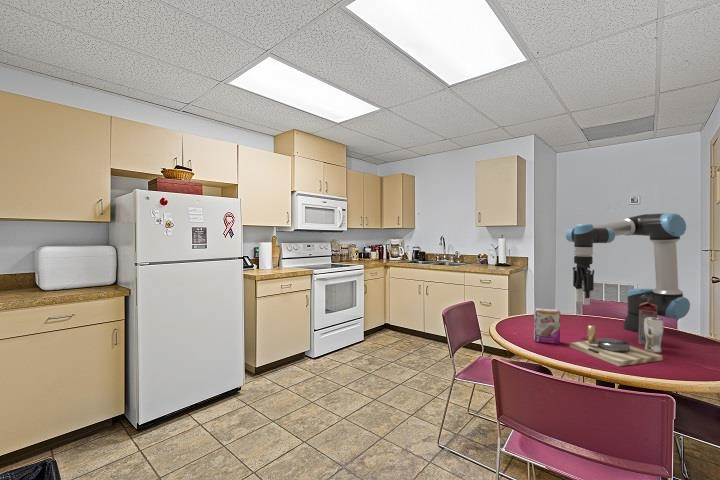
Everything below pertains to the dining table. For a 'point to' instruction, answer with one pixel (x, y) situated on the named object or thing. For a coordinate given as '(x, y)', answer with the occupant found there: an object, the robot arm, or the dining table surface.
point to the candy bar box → (547, 326)
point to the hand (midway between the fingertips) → (582, 303)
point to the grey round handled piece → (607, 342)
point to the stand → (617, 354)
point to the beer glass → (653, 334)
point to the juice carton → (645, 311)
